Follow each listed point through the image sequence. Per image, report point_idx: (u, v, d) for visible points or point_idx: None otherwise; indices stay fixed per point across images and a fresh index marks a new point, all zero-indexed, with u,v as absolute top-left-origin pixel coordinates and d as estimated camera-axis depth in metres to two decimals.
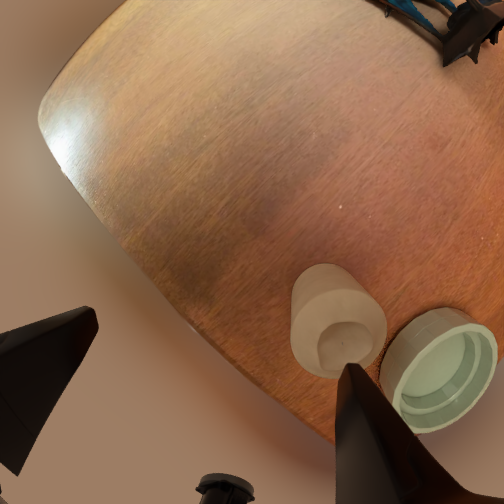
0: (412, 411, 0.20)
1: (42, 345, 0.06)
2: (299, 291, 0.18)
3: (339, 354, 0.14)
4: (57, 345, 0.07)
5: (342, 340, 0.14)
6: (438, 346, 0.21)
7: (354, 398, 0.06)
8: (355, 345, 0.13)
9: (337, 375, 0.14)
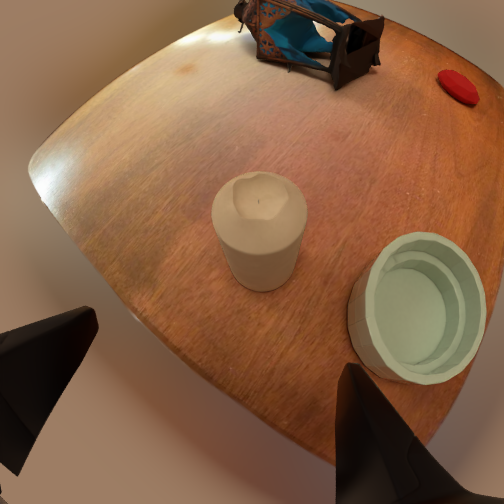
0: (411, 370, 0.17)
1: (42, 345, 0.06)
2: None
3: (259, 213, 0.15)
4: (57, 345, 0.07)
5: (258, 202, 0.15)
6: (408, 296, 0.21)
7: (354, 398, 0.06)
8: (273, 204, 0.15)
9: (264, 237, 0.14)
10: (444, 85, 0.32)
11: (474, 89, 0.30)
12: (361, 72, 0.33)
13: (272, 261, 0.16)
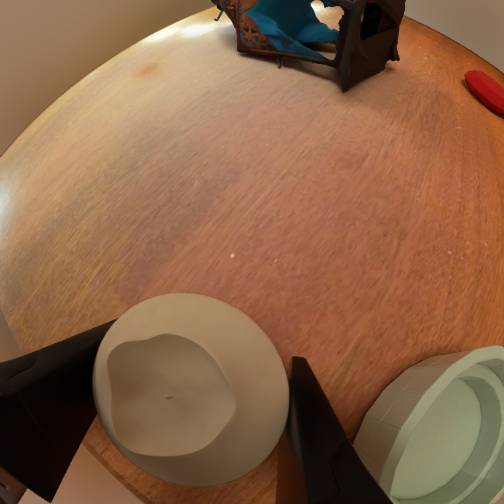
0: None
1: (79, 364, 0.06)
2: None
3: (171, 424, 0.05)
4: None
5: (171, 393, 0.06)
6: (438, 417, 0.12)
7: (290, 392, 0.06)
8: (204, 405, 0.06)
9: (184, 475, 0.05)
10: (474, 89, 0.23)
11: None
12: (376, 68, 0.24)
13: None
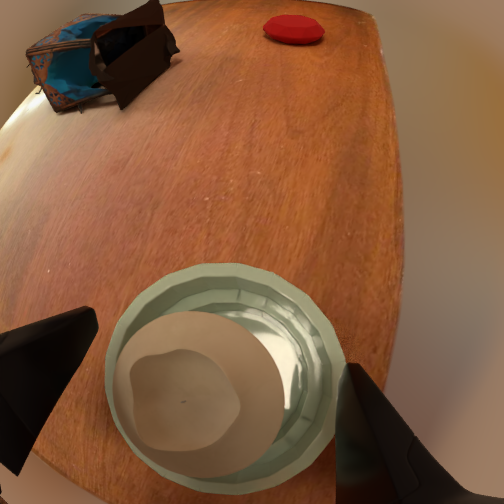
0: None
1: (42, 345, 0.06)
2: None
3: (185, 424, 0.06)
4: (57, 345, 0.07)
5: (184, 398, 0.07)
6: None
7: (354, 398, 0.06)
8: (213, 407, 0.07)
9: (195, 467, 0.06)
10: (271, 35, 0.30)
11: (313, 23, 0.29)
12: (155, 71, 0.28)
13: None
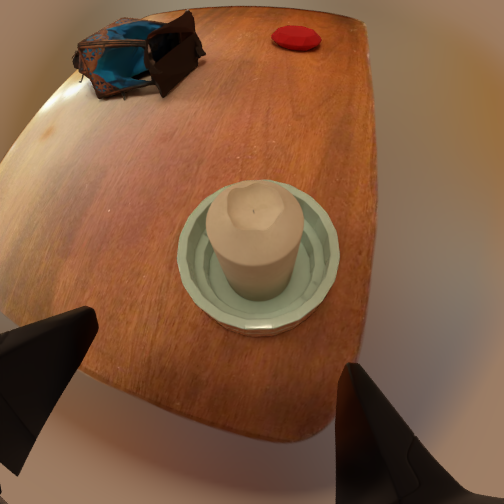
0: None
1: (42, 345, 0.06)
2: None
3: (254, 224, 0.15)
4: (57, 345, 0.07)
5: (253, 212, 0.15)
6: None
7: (354, 398, 0.06)
8: (269, 213, 0.15)
9: (259, 248, 0.14)
10: (278, 43, 0.39)
11: (312, 33, 0.38)
12: (187, 69, 0.36)
13: (268, 272, 0.16)
